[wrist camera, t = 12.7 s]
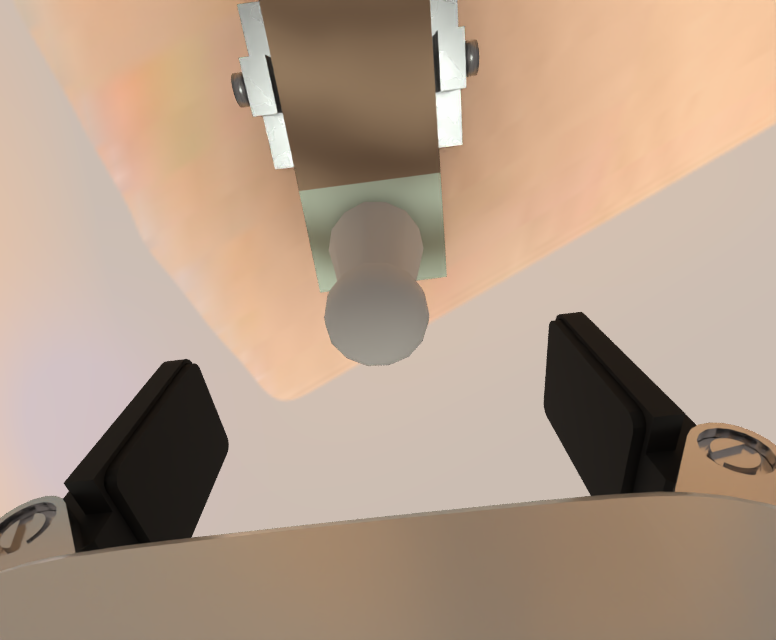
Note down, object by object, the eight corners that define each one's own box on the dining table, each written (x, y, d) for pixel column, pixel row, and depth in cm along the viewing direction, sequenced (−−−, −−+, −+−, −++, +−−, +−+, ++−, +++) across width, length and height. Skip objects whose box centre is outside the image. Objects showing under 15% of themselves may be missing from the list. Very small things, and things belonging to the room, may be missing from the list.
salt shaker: (340, 185, 26) (313, 241, 14) (428, 204, 27) (469, 272, 15) (327, 271, 28) (294, 378, 17) (407, 286, 29) (429, 399, 18)
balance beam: (215, -237, 19) (203, -265, 18) (409, -268, 19) (411, -298, 17) (322, 284, 31) (320, 292, 29) (443, 269, 30) (446, 276, 29)
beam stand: (238, 8, 27) (205, -18, 22) (456, -23, 27) (477, -58, 21) (275, 168, 32) (255, 179, 26) (462, 143, 31) (480, 149, 26)
